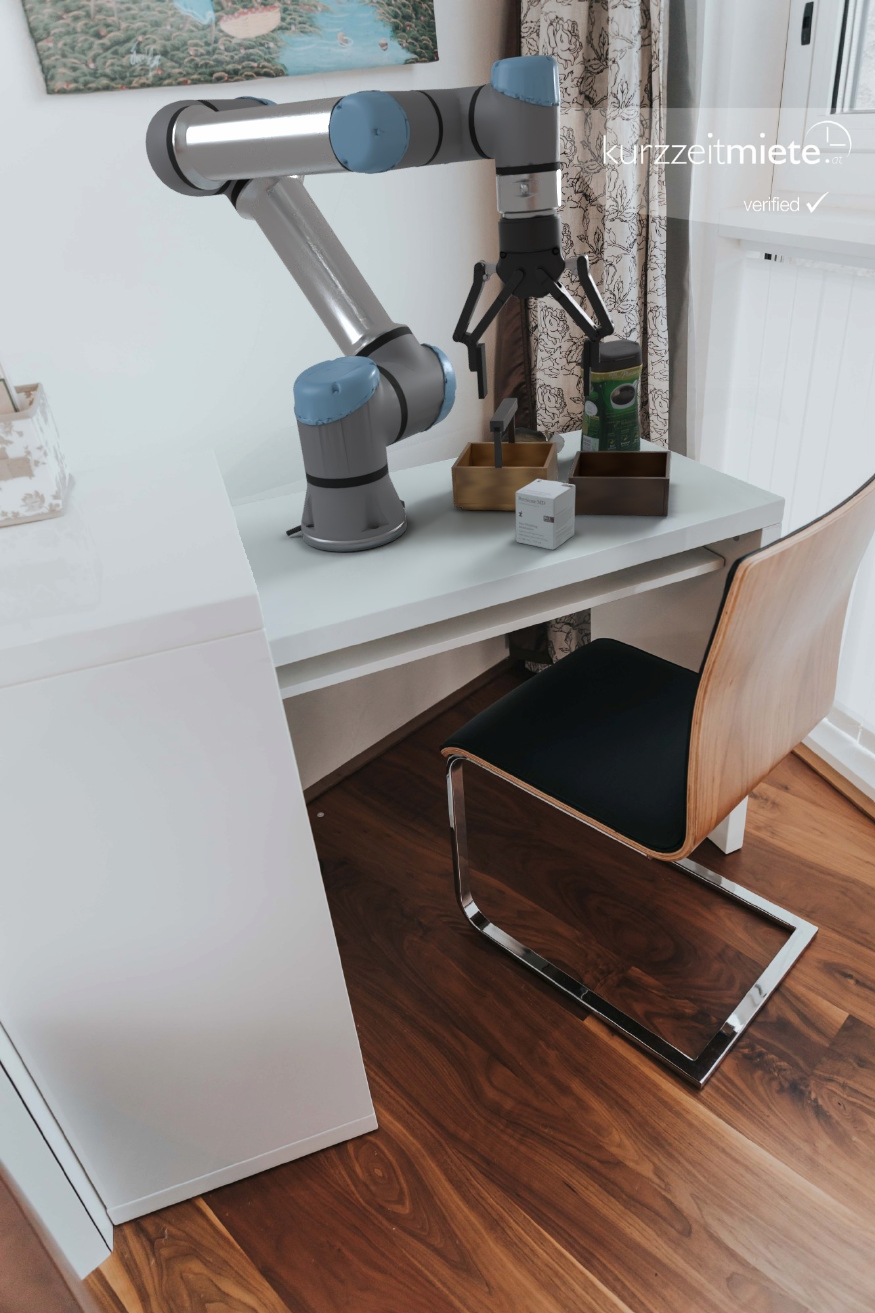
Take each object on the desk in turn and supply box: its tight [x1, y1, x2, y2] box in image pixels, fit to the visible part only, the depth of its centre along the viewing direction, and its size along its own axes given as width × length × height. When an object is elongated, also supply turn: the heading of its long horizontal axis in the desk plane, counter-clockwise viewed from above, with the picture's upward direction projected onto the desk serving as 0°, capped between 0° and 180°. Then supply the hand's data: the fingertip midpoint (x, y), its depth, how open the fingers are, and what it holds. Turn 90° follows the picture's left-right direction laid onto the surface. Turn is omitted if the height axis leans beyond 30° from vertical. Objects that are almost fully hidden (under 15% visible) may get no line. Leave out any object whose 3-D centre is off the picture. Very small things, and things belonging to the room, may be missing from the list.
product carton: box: [515, 479, 576, 550], centre depth 119 cm, size 6×6×7 cm
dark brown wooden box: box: [567, 450, 672, 517], centre depth 130 cm, size 14×12×6 cm
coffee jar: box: [579, 338, 643, 451], centre depth 144 cm, size 10×8×19 cm
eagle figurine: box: [501, 426, 566, 454], centre depth 145 cm, size 8×7×9 cm
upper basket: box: [450, 397, 559, 511], centre depth 132 cm, size 14×12×14 cm
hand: (534, 395), depth 115 cm, fingers open, 13 cm apart
